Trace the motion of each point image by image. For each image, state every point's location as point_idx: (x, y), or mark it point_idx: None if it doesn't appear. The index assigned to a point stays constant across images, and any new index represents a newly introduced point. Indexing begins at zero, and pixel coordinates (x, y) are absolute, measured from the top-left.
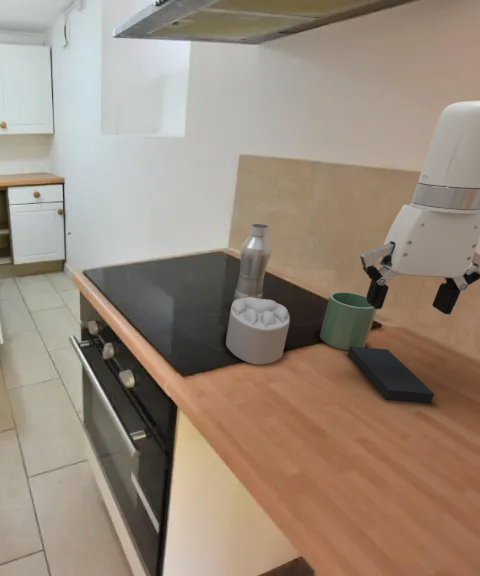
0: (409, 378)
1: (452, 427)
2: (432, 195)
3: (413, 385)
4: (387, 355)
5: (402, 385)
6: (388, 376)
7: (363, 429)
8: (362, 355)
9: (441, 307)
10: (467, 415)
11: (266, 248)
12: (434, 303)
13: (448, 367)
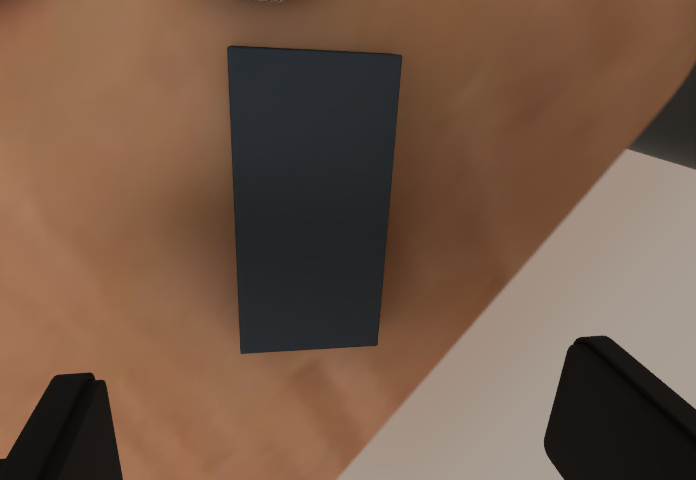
0: (351, 277)
1: (358, 405)
2: None
3: (338, 316)
4: (366, 118)
5: (301, 322)
6: (281, 278)
7: None
8: (251, 133)
9: (565, 434)
10: (432, 354)
11: None
12: (582, 369)
13: (588, 104)
